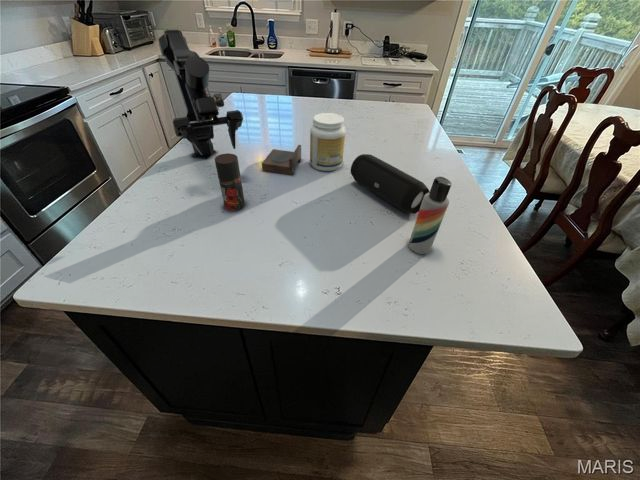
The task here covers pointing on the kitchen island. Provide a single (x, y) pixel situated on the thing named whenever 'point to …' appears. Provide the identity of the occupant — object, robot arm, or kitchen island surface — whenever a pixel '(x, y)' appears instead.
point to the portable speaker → (389, 183)
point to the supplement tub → (327, 141)
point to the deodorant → (230, 181)
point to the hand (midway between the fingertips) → (218, 151)
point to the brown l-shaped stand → (282, 161)
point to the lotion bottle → (430, 216)
